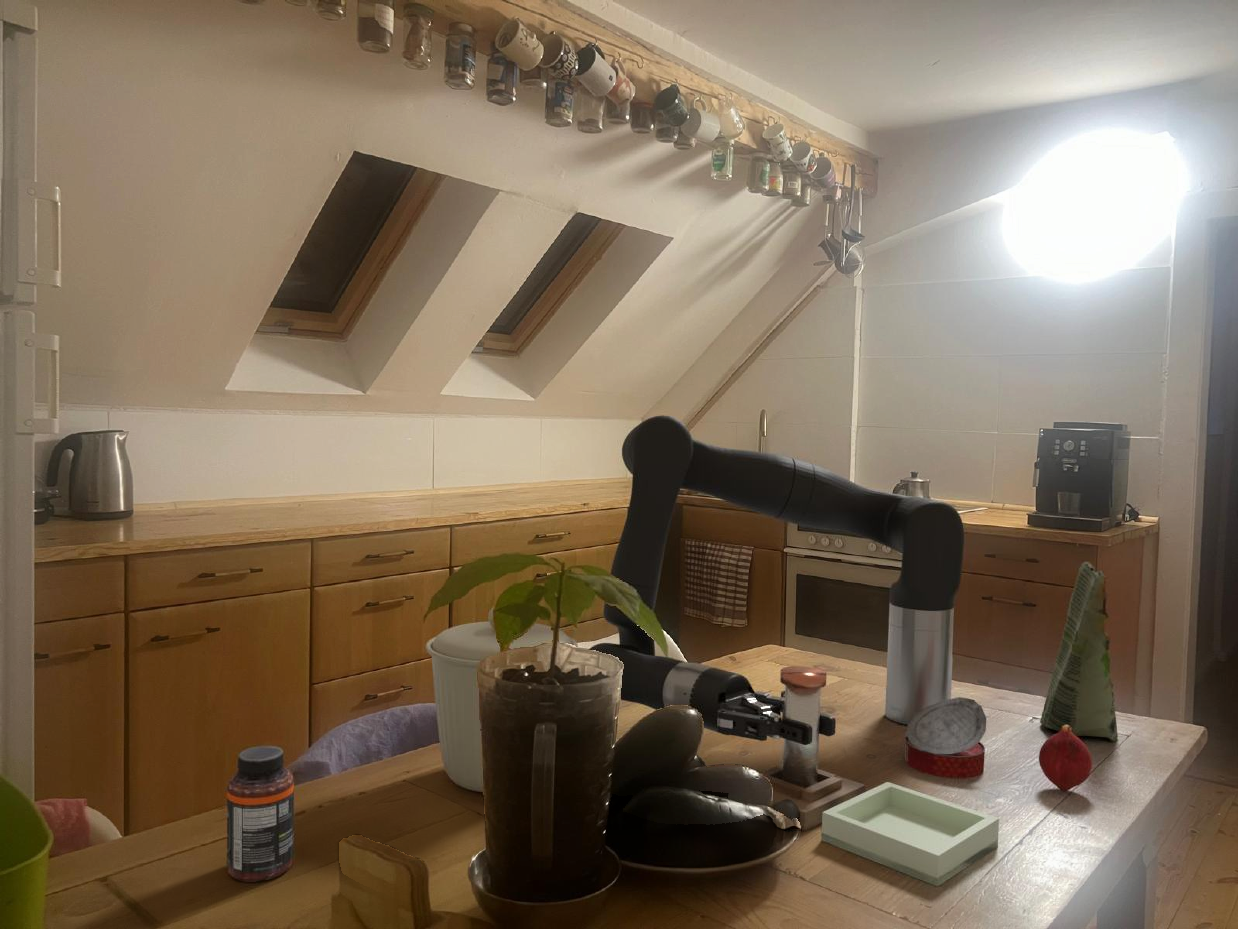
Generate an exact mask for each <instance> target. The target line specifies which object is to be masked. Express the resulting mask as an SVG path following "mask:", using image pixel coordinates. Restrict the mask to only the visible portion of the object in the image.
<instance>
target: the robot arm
mask: <svg viewBox="0 0 1238 929" xmlns="http://www.w3.org/2000/svg"><path fill="white" fill-rule="evenodd" d="M622 443H623V444H622V447H621V457H622V460H623V463H624V466H625V468H626V469H627V471H629V473H630V474H631V475H632V480H631V481H632V482H631V483H632V485H631V491H630V499H629V500H630V501H629V506H628V510H627V514H626V519H625V522H624V526H623V530H622V532H621V535H620V538H619V542H618V544H617V548H616V551H615V554H614V558H613V562H612V563H611V564H612V565H611V569H610V573H609V575H610V574H611V575H613V576H615V577H616V578H619V579H620V580H622V581H623V582H626V583H628V584H629V585H632V586H633V587H634V588H635V589H637V591H638V592H639V593H640V596H641V598H642V599H643V601H644V602H645V603H646V604H647V606H649V607H650V609H652V610H653V611H655V608H656V602H657V597H658V592H659V587H660V585H659V584H660V579H661V574H662V567H663V562H664V555H665V550H666V544H667V541H668V534H669V530H670V526H671V521H672V518H673V514H674V511H675V506H676V502H677V500H678V496H679V493H680V490H687V491H688V490H689V491H692V492H697V493H701V494H705V495H709V496H711V497H714V498H717V499H719V500H721V501H722V500H723V501H725V502H727V503H729V504H732V505H736V506H737V507H741V508H743V509H747V510H749V511H752V512H755V513H758V514H761V515H763V516H767V517H769V518H774V519H777V520H781V521H782V522H783V521H784V522H788V523H791V524H793V525H794V524H795V525H798V526H799V525H800V526H803V527H808V528H813V529H820V530H828V531H835V532H836V531H838V532H845V533H850V534H854V535H856V536H860V537H863V538H865V539H868V540H871V541H873V542H876V543H878V544H879V545H882V546H885V547H888V548H889V549H892V550H893V551H896V552H898V553H900V554H901V556H902V557H901V567H900V568H901V569H900V573H899V574H900V575H899V576H898V579H897V580H896V581H894V582H893V583H891V585H890V590H889V608H888V609H889V610H888V636H887V637H888V639H887V656H886V657H887V659H886V666H887V667H886V684H885V708H884V709H885V710H884V711H885V712H884V714H885V717H887V719H889V720H891V721H893V722H895V723H899V724H902V725H906V726H908V723H909V722H910V721H911V720H912V719H913V717H914V716H915V715H916V714H918V713H919V712H921V711H922V710H924V709H925V708H926V707H927V706H930V705H933V704H936V703H938V702H940V701H942V700H947V699H952V682H953V681H952V680H953V660H954V659H953V643H954V642H953V639H954V637H953V636H954V618H955V616H954V614H955V613H954V612H955V608H954V607H955V600H956V599H955V598H956V596H957V593H958V591H959V590H960V586H961V580H962V573H963V570H962V569H963V559H964V547H965V528H964V524H963V520H962V517H961V515H960V513H959V512H958V511H957V509H955V507H954V506H952V505H951V504H949V503H948V502H944V501H943V500H938V499H932V498H928V497H927V498H926V497H921V496H915V495H913V496H911V495H904V494H897V493H892V492H886V491H882V490H876V489H872V488H869V487H865V486H863V485H860V484H857V483H855V482H853V481H852V480H850V479H847V478H846V477H844V476H842V475H840V474H838V473H835V472H834V471H831V470H828V468H827V469H826V468H824V467H822V466H818V465H816V464H812V463H809V462H807V461H806V462H805V461H803V460H800V459H796V458H793V457H789V456H785V455H782V454H776V453H769V452H763V451H754V450H746V449H745V450H744V449H734V448H726V447H721V446H717V445H712V444H710V443H707V442H703V441H701V440H698V439H695V438H692V435H691V433H690V430H689V429H688V428H687V426H686V425H685V424H684V423H683V422H682V421H681V420H679V419H677V418H675V417H674V416H670V415H656V416H652V417H649V418H646V419H645V420H643V421H642V422H640V423H639V424H638V425H636V426H635V427H634V428H633V429H632V430H631V431H630V432H629V433H628V434H627V435H626V437H625V439H624V440H623V442H622ZM603 617H604V620H606V622H608V623H609V624H611V625H612V626H615V627H616V628H617V630H618V637H619V639H618V640H619V641H618V642H619V643H612V642H600V643H597V644H594V645H592V646H591V647H590V648H589V649H588V650H596V651H599V652H602V653H606V654H611V655H613V656H615V657H618V658H619V660H620V661H622V662H623V664H624V669H623V675H622V688H621V700H620V701H624V702H630V703H636V704H639V705H642V706H646V707H649V708H651V709H654V710H656V711H658V710H657V709H660V708H664V707H667V706H670V705H688V706H691V707H692V708H695V709H697V710H698V712H700V713H701V714H702V718H703V721H704V728H703V729H706V730H709V731H713V732H715V733H719V734H721V735H725V736H734V737H740V738H745V739H752V740H756V741H760V742H763V741H767V740H768V738H772V739H773V740H778V739H783V738H784V739H787V740H790V741H794V742H797V743H800V744H803V745H808V744H811V743H812V726H811V725H809V724H806V723H803V722H799V721H796V720H792V719H789V718H786V717H785V718H784V707H785V690H782V691H780V696H777V695H771V694H770V692H766V691H760V690H759V691H757V690H756V691H755V689H754V688H753V686H752V684H751V682H750V680H749V679H748V678H746V676H744V675H743V674H740V673H737V672H732V671H728V670H725V669H721V668H717V667H713V666H709V665H707V664H702V663H699V662H698V663H697V662H687V661H683V660H680V659H676V658H673V657H668V656H662V655H656V647H655V646H656V645H655V639H654V640H653V639H652V638H651V637H649V636H648V635H647V633H645V631H644V630H642V629H641V628H640V626H637V625H636V624H635V623H633V622H632V621H631V620H630V619H629V618H628V617H627V616H626V615H625V614H624V613H623V612H622V611H621V610H620V609H618V608H617V607H616V606H610V605H608V604H606V603H605V602H604V606H603ZM781 713H782V714H781ZM836 723H837V722H836V718H835V717H834V715H833V716H832V715H829V714H826V713H822V712H820V719H819V735H823V736H825V737H832V736H834V735H835V734H836V727H837V726H836Z"/></svg>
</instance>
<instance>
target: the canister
mask: <svg viewBox="0 0 1238 929" xmlns="http://www.w3.org/2000/svg"><path fill="white" fill-rule="evenodd" d="M494 607H495V606H493V607H491V609H490V610H489V612H488V617H487V618H488V621H478V622H469V623H464V624H463V623H462V624H459V625H455V626H451V627H449V628H448V629H445V630H442V631H441V632H440V633H439V634H437V635H436V636H434V637H433V638H430V639H429V640H428V641H427V642H426V644H425V649H426V652H427V654H429V656H431V663H432V664H431V666H432V678H433V689H434V700H435V710H436V720H437V729H438V737H439V739H438V740H439V746H440V753H441V754H440V755H441V760H442V764H443V768H444V771H445V773H446V775H447V776H448V777H449V778H450V780H451V781H452V782H453V783H455V785H458V786H460V787H461V788H463V789H466V790H471V791H473V792H480V793H484V792H483V767H482V746H481V736H480V729H481V726H480V720H479V688H478V681H477V670H478V666H479V662H480V661H482V660H483V659H484V658H485V657H487V656H490V655H492V654H497V653H499V652H500V646H499V643H498V642H497V639H496V633H495V630H494V623H493V609H494ZM551 627H552V626H550V625H546V624H541V623H536V622H535V624H534V626H532V627H531V629H530V630H528V632H527V633H525V634H524V635H523V636H521V637H519V638H517V640H514V641H513V643H511V644H510V646H509V648H510V649H514V648H520V647H534V646H537V645H540V644H542V643H551V642H552V640H553V631H552V630H551ZM559 642H560V643H568V644H572V645H575V646H576V647H578V642H577V641H576V640H575V639H574V638H572V637H571V636H568V635H567V634H566V633H565V632H564V631H563V630H560V631H559Z"/></svg>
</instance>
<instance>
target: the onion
mask: <svg viewBox="0 0 1238 929" xmlns="http://www.w3.org/2000/svg"><path fill="white" fill-rule="evenodd" d="M1071 729H1072V728H1071V727H1070V726H1068V725H1064V726H1062V730H1061V731H1060V732H1059V731H1058V732H1057V733H1055V734H1053V735H1051V736H1049V737H1048V738H1047V739H1046V740H1045V741H1044V743H1043V744H1042V746H1041V748H1040V749H1039V753H1038V754H1039V755H1038V762H1039V767H1040V769H1041V771H1042V773H1043V775H1044V776H1045V777H1046V778H1047V779H1048V781H1050V782H1051V783H1052V784H1053V785H1055V787H1057V789H1059V790H1060V791H1063V792H1067V791H1069V790H1071V789H1073V788H1075V787H1078V786H1079V785H1081V784H1082V783H1084V782H1085V781H1086V780H1087V779H1088V777H1089V776H1090V773H1091V772H1092V767H1093V759H1092V755H1091V752H1090V750H1089V749H1088V746H1087V745H1086V744H1085V743H1084V742H1083V741H1082V739H1080V737H1078V736H1075V735H1074V734H1073V733H1072V732H1071Z"/></svg>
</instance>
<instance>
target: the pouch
mask: <svg viewBox="0 0 1238 929" xmlns="http://www.w3.org/2000/svg"><path fill="white" fill-rule="evenodd" d="M1106 582H1107V581H1106V575H1104V572H1103V570H1099V571H1098V570H1096V566H1095V565H1094V566H1093V564H1092V563H1091V562H1089V561H1084V562H1082V563H1081V564H1080V567H1079V568H1078V574H1077V577H1076V580H1075V584H1074V587H1073V592H1072V594H1071V597H1070V601H1069V603H1068V604H1069V606H1068V611H1067V615H1066V620H1065V625H1064V630H1063V632H1062V637H1061V641H1060V645H1059V649H1058V652H1057V656H1056V660H1055V664H1054V667H1053V670H1052V675H1051V679H1050V682H1049V686H1048V690H1047V694H1046V697H1045V701H1044V706H1043V710H1042V712H1041V717H1040V719H1039V722H1040V723H1039V724H1041V725H1042V726H1043V727H1045V728H1047V729H1051V730H1054V731H1056V732H1058V733H1059V732H1060V731H1061V730H1062V726H1064V725H1068V726H1070V727H1071V728H1072V729H1071V732H1072V733H1073V734H1074V735H1075V736H1077V737H1078V736H1086V737H1098V738H1106V739H1108V741H1111V742H1116V741H1117V739H1118V737H1119V735H1118V726H1117V724H1118V723H1117V718H1116V717H1117V716H1116V707H1115V704H1114V702H1115V694H1114V690H1113V689H1114V688H1113V686H1114V685H1113V681H1112V678H1111V659H1110V656H1109V653H1108V651H1109V650H1110V646H1111V645H1110V642H1111V636H1110V635H1109V634H1108V633H1107V632H1106V631H1105V623H1106V621H1107V620H1108V619H1110V616H1109V614H1108V613H1107V608H1106V602H1107V592H1106V586H1107V583H1106Z"/></svg>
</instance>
